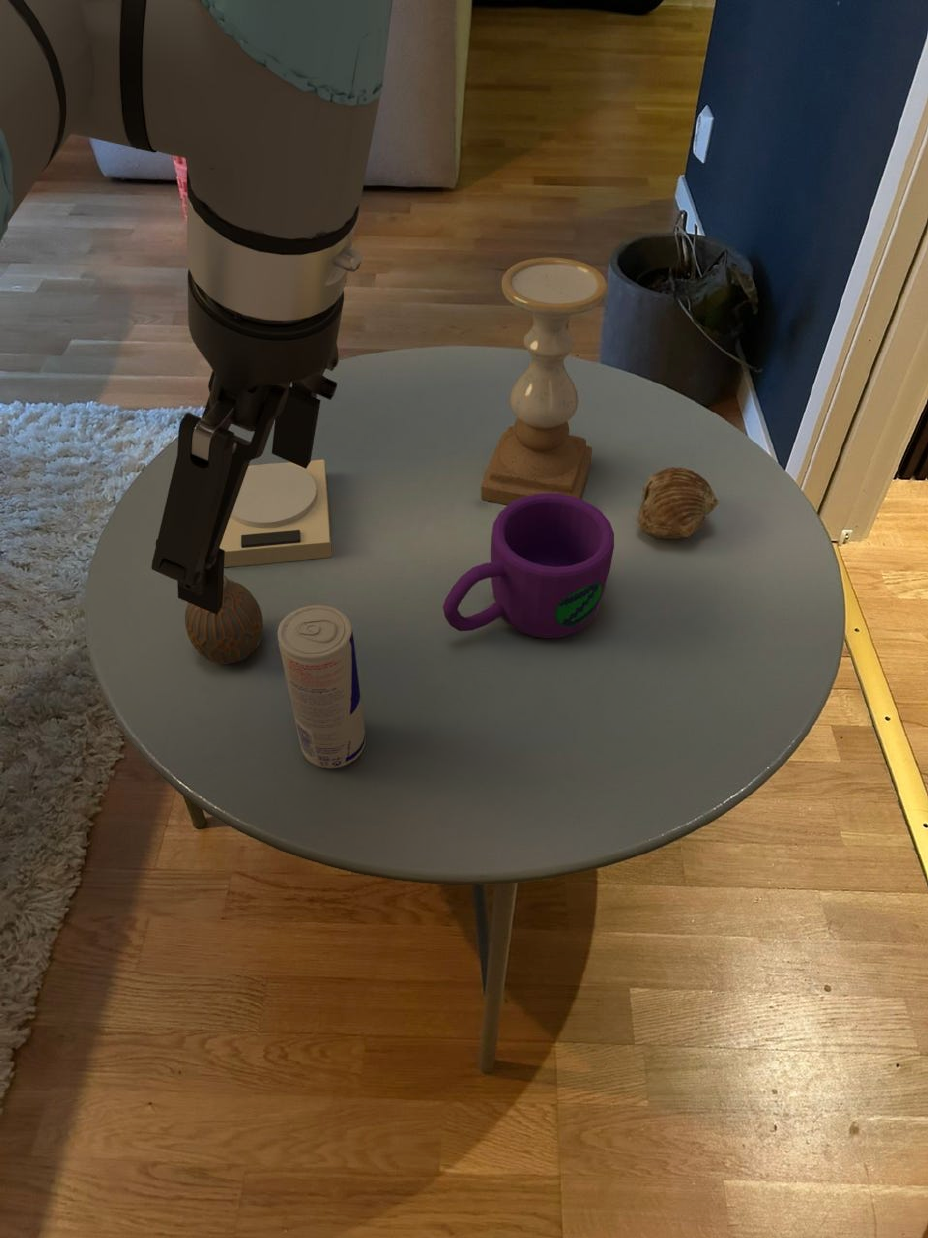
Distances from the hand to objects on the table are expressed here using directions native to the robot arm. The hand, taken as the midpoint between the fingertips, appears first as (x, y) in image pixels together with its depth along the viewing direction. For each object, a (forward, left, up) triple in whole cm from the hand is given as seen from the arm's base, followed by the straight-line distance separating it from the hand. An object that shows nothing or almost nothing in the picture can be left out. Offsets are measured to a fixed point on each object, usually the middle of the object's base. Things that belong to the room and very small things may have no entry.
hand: (248, 525), depth 62 cm
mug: (+22, +11, -25) cm, 35 cm away
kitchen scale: (-2, +29, -24) cm, 38 cm away
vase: (-6, +11, -25) cm, 28 cm away
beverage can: (+3, -2, -25) cm, 25 cm away
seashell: (+41, +22, -25) cm, 53 cm away
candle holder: (+28, +32, -25) cm, 50 cm away
